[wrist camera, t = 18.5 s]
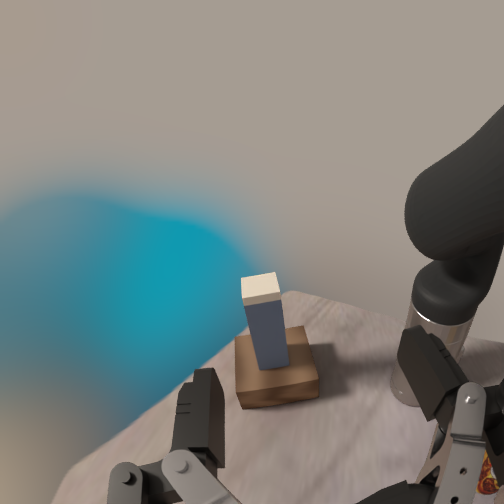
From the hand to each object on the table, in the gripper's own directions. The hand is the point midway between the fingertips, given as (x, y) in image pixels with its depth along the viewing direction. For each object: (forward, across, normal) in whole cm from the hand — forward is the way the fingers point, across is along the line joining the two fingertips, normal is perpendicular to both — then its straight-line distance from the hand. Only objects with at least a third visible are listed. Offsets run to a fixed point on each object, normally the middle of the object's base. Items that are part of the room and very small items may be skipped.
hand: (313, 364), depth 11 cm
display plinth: (+23, +2, +30) cm, 38 cm away
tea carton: (+23, +2, +25) cm, 34 cm away
